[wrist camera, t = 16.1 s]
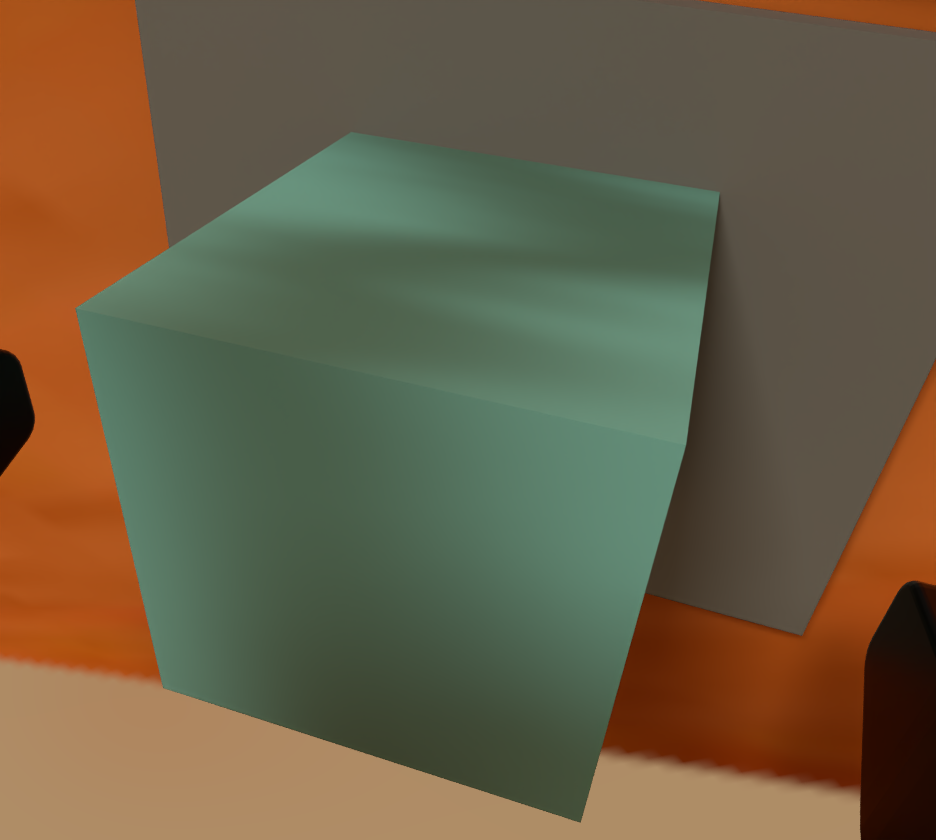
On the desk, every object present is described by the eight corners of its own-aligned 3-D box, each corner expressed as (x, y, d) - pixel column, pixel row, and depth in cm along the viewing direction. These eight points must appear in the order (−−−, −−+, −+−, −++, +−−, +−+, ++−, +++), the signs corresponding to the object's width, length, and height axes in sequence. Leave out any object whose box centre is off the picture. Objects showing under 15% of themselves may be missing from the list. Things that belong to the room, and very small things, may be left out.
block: (720, 192, 9) (685, 445, 5) (643, 495, 12) (580, 822, 8) (350, 131, 10) (75, 307, 6) (355, 426, 12) (163, 688, 8)
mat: (1061, 48, 8) (1079, 60, 8) (800, 606, 13) (801, 635, 12) (156, -72, 10) (125, -70, 9) (218, 451, 14) (200, 471, 14)
